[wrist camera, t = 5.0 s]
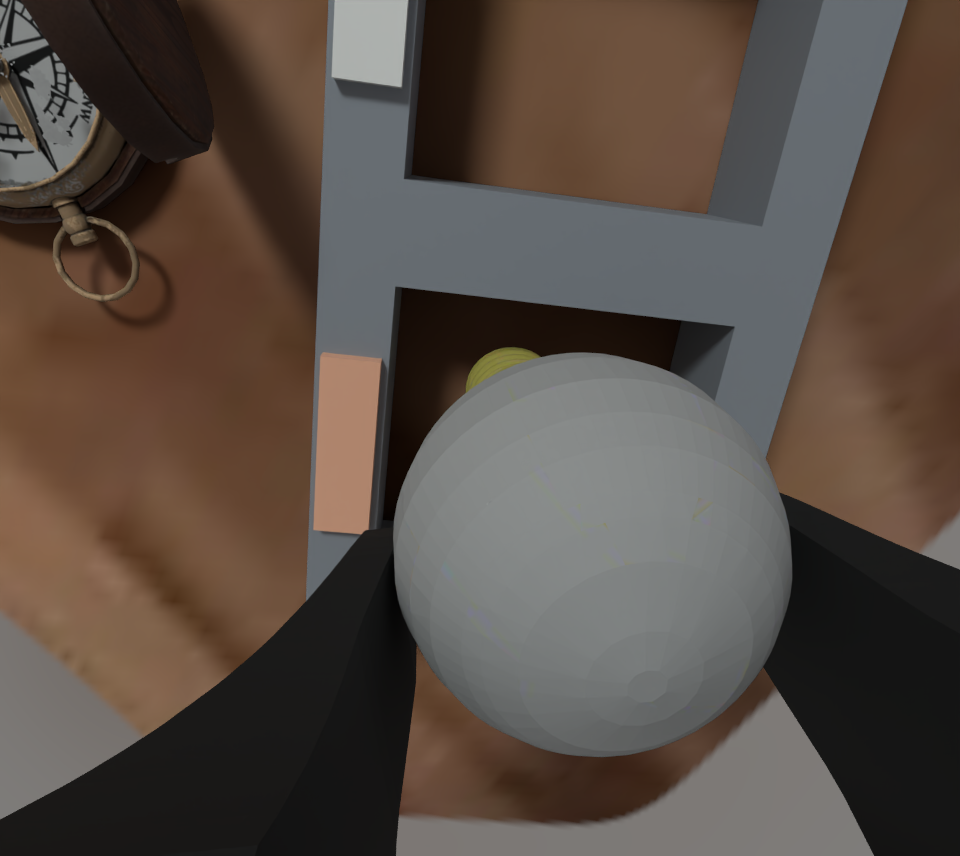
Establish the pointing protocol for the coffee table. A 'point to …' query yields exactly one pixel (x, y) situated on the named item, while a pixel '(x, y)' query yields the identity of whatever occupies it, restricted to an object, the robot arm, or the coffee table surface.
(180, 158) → the compass
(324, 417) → the socket block
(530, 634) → the light bulb
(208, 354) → the coffee table surface
